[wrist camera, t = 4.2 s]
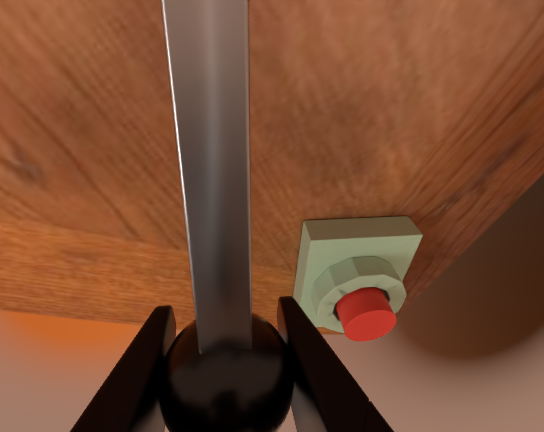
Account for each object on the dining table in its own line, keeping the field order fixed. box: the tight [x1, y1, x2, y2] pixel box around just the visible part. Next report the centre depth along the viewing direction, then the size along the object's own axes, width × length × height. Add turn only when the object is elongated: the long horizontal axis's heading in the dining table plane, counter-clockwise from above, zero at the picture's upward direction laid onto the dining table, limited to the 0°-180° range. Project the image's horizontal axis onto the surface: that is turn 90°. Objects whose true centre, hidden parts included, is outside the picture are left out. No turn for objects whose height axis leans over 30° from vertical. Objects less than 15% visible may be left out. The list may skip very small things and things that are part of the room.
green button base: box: [293, 216, 423, 333], centre depth 24 cm, size 10×8×4 cm
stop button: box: [336, 287, 396, 341], centre depth 21 cm, size 4×4×2 cm
